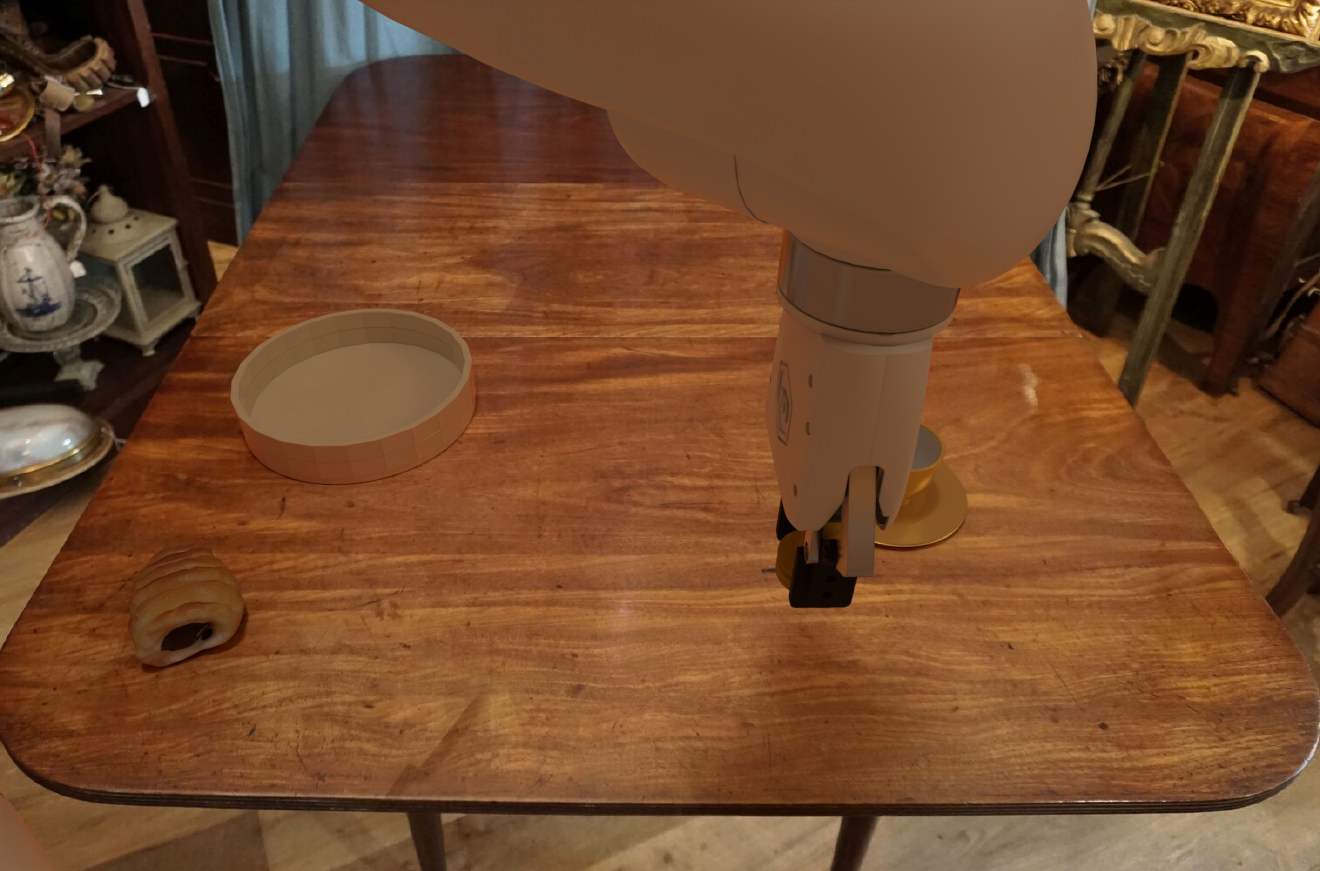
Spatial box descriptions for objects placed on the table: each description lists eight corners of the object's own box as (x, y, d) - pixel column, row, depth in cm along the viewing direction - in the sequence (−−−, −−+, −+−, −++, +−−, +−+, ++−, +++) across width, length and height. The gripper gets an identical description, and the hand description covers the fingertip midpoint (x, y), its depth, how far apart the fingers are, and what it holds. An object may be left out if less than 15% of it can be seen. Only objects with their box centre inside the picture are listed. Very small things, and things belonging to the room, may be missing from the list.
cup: (994, 538, 69) (1013, 484, 66) (842, 561, 67) (853, 507, 64) (926, 436, 78) (939, 384, 75) (790, 454, 76) (797, 402, 73)
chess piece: (762, 554, 51) (772, 487, 48) (825, 538, 52) (839, 471, 49) (795, 607, 48) (807, 538, 45) (861, 588, 50) (878, 520, 46)
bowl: (375, 515, 70) (366, 476, 68) (192, 437, 77) (177, 398, 74) (519, 381, 83) (515, 344, 81) (352, 324, 90) (344, 288, 87)
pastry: (130, 578, 65) (111, 540, 63) (232, 547, 68) (218, 509, 65) (142, 679, 59) (122, 641, 56) (255, 640, 61) (239, 602, 59)
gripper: (756, 181, 45) (726, 468, 57) (814, 385, 32) (761, 703, 44) (909, 184, 45) (849, 468, 57) (1027, 385, 32) (919, 701, 44)
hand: (811, 567), depth 50 cm, fingers closed on chess piece, 4 cm apart
